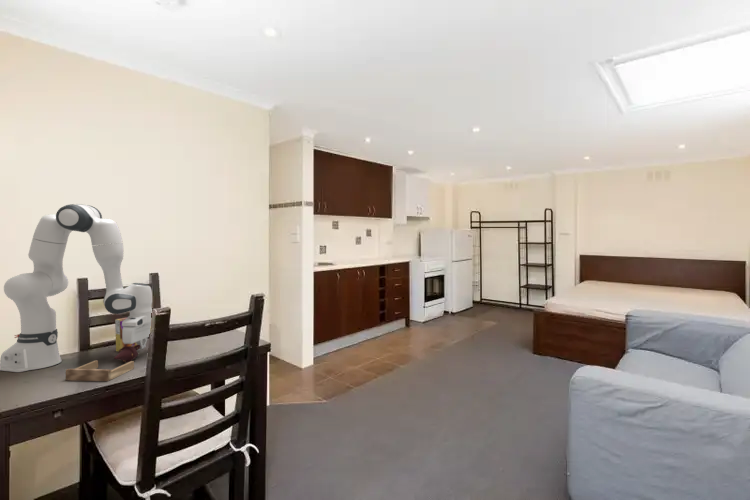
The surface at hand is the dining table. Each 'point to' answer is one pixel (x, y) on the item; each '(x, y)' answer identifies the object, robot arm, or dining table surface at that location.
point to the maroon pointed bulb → (127, 353)
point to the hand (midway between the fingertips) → (141, 348)
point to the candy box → (120, 335)
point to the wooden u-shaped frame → (97, 372)
